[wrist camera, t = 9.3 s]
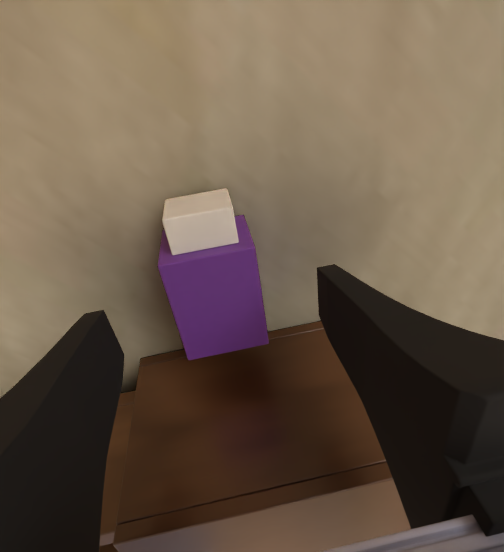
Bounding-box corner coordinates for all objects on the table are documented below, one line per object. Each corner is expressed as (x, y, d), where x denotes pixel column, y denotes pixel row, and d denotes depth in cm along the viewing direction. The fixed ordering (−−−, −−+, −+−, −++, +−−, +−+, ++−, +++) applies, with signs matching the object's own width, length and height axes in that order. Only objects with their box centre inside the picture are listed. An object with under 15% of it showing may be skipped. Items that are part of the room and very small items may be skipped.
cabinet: (190, 475, 24) (191, 643, 17) (140, 357, 18) (111, 545, 11) (378, 432, 25) (451, 577, 18) (390, 305, 19) (507, 451, 12)
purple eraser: (257, 301, 17) (269, 344, 15) (187, 315, 17) (188, 361, 15) (238, 181, 14) (249, 209, 12) (152, 196, 14) (145, 229, 11)
